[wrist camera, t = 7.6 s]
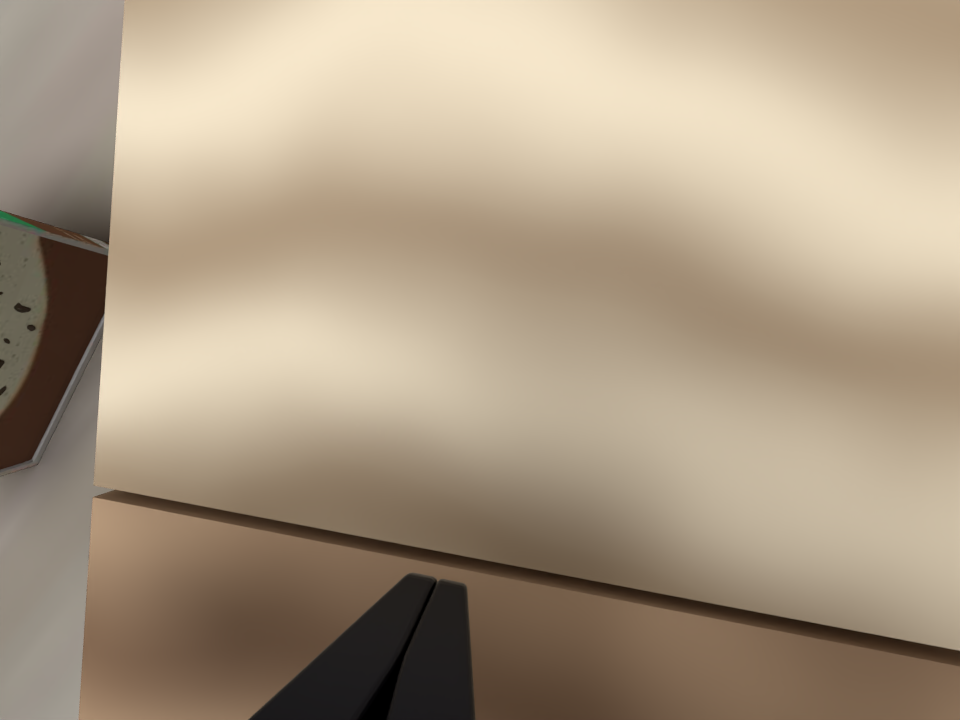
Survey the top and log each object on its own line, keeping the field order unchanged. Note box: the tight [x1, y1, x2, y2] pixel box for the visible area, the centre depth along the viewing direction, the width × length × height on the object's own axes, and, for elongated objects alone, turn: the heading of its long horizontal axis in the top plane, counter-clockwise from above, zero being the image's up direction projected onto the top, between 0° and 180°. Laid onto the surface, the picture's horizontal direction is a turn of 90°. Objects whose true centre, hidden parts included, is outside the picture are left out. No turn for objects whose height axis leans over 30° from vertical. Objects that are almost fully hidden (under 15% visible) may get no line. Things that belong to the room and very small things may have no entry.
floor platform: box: [79, 490, 960, 720], centre depth 16 cm, size 20×20×7 cm
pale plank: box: [94, 0, 960, 651], centre depth 13 cm, size 12×20×2 cm, turn 84°
